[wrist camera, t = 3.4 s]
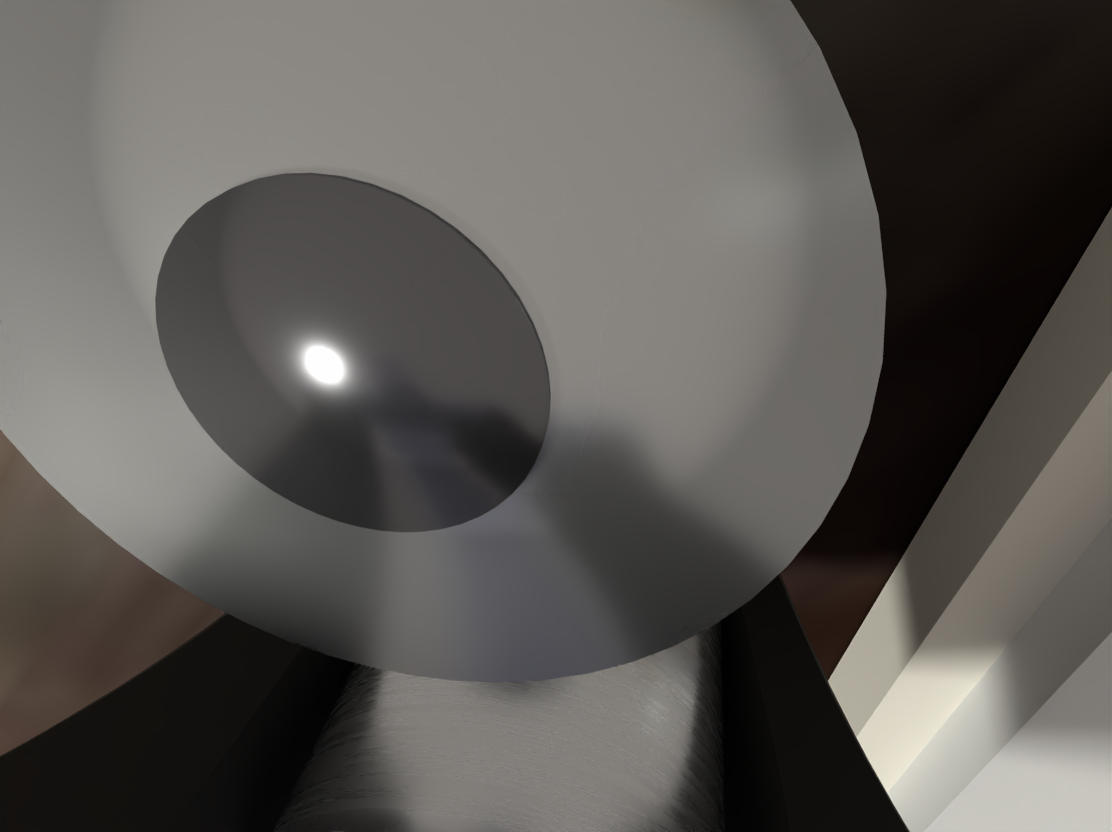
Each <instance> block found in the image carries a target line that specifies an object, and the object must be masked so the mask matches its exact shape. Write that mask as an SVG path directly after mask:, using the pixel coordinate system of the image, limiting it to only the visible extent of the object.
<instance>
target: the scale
mask: <svg viewBox="0 0 1112 832" xmlns="http://www.w3.org/2000/svg"><path fill="white" fill-rule="evenodd" d="M828 683H829V685H830V687H831V689H832V690H833V692H834V694H835V696H836V698H837V700H838V702H839V704H840V706H841V708H842V710H843V712H844V714H845V716H846V718H847V720H848V722H849V724H850V726H851V728H852V730H853V732H854V734H855V736H856V738H857V739H858V741H859V743H860V745H861V747H862V749H863V751H864V753H865V754H866V756H867V758H868V760H869V762H870V764H871V765H872V767H873V769H874V771H875V772H876V774H877V776H878V778H879V780H880V781H881V783H882V785H883V787H884V788H885V790H886V792H887V794H888V795H889V797H890V799H891V801H892V802H893V804H894V806H895V808H896V809H897V811H898V813H899V814H900V816H901V818H902V819H903V821H904V823H905V824H906V826H907V828H908V829H909V831H910V832H1112V208H1111V209H1110V211H1109V213H1108V214H1107V216H1106V218H1105V219H1104V221H1103V223H1102V224H1101V226H1100V228H1099V229H1098V231H1097V233H1096V234H1095V236H1094V238H1093V239H1092V241H1091V243H1090V244H1089V246H1088V248H1087V249H1086V251H1085V253H1084V254H1083V256H1082V258H1081V259H1080V261H1079V263H1078V264H1077V266H1076V268H1075V269H1074V271H1073V273H1072V274H1071V276H1070V278H1069V279H1068V281H1067V283H1066V284H1065V286H1064V288H1063V289H1062V291H1061V293H1060V294H1059V296H1058V298H1057V299H1056V301H1055V303H1054V304H1053V306H1052V308H1051V309H1050V311H1049V313H1048V314H1047V316H1046V318H1045V319H1044V321H1043V323H1042V324H1041V326H1040V328H1039V329H1038V331H1037V333H1036V334H1035V336H1034V338H1033V340H1032V341H1031V343H1030V345H1029V346H1028V348H1027V350H1026V351H1025V353H1024V355H1023V356H1022V358H1021V360H1020V361H1019V363H1018V365H1017V366H1016V368H1015V370H1014V371H1013V373H1012V375H1011V376H1010V378H1009V380H1008V381H1007V383H1006V385H1005V386H1004V388H1003V390H1002V391H1001V393H1000V395H999V396H998V398H997V400H996V401H995V403H994V405H993V406H992V408H991V410H990V411H989V413H988V415H987V416H986V418H985V420H984V421H983V423H982V425H981V426H980V428H979V430H978V431H977V433H976V435H975V436H974V438H973V440H972V441H971V443H970V445H969V446H968V448H967V450H966V451H965V453H964V455H963V456H962V458H961V460H960V461H959V463H958V465H957V466H956V468H955V470H954V471H953V473H952V475H951V476H950V478H949V480H948V481H947V483H946V485H945V486H944V488H943V490H942V491H941V493H940V495H939V496H938V498H937V500H936V502H935V503H934V505H933V507H932V508H931V510H930V512H929V513H928V515H927V517H926V518H925V520H924V522H923V523H922V525H921V527H920V528H919V530H918V532H917V533H916V535H915V537H914V538H913V540H912V542H911V543H910V545H909V547H908V548H907V550H906V552H905V553H904V555H903V557H902V558H901V560H900V562H899V563H898V565H897V567H896V568H895V570H894V572H893V573H892V575H891V577H890V578H889V580H888V582H887V583H886V585H885V587H884V588H883V590H882V592H881V593H880V595H879V597H878V598H877V600H876V602H875V603H874V605H873V607H872V608H871V610H870V612H869V613H868V615H867V617H866V618H865V620H864V622H863V623H862V625H861V627H860V628H859V630H858V632H857V633H856V635H855V637H854V638H853V640H852V642H851V643H850V645H849V647H848V648H847V650H846V652H845V653H844V655H843V657H842V658H841V660H840V662H839V664H838V665H837V667H836V669H835V670H834V672H833V674H832V675H831V677H830V679H829V680H828Z"/></svg>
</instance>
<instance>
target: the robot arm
mask: <svg viewBox="0 0 1112 832" xmlns="http://www.w3.org/2000/svg"><path fill="white" fill-rule="evenodd" d="M721 642H722V703H723V763H724V824H725V832H910V831H909V829H908V828H907V826H906V824H905V823H904V821H903V819H902V818H901V816H900V814H899V813H898V811H897V809H896V808H895V806H894V804H893V802H892V801H891V799H890V797H889V795H888V794H887V792H886V790H885V788H884V787H883V785H882V783H881V781H880V780H879V778H878V776H877V774H876V772H875V771H874V769H873V767H872V765H871V764H870V762H869V760H868V758H867V756H866V754H865V753H864V751H863V749H862V747H861V745H860V743H859V741H858V739H857V738H856V736H855V734H854V732H853V730H852V728H851V726H850V724H849V722H848V720H847V718H846V716H845V714H844V712H843V710H842V708H841V706H840V704H839V702H838V700H837V698H836V696H835V694H834V692H833V690H832V689H831V687H830V685H829V683H828V680H827V678H826V676H825V674H824V672H823V670H822V668H821V666H820V664H819V662H818V659H817V657H816V655H815V653H814V651H813V648H812V646H811V644H810V642H809V640H808V638H807V635H806V633H805V631H804V629H803V626H802V624H801V622H800V619H799V617H798V615H797V613H796V610H795V608H794V606H793V603H792V601H791V598H790V596H789V594H788V591H787V589H786V586H785V584H784V581H783V579H782V577H781V575H780V573H779V574H778V575H777V576H776V577H775V578H774V579H773V580H772V581H771V582H770V583H769V584H768V585H766V586H765V587H764V588H763V589H762V590H761V591H760V592H759V593H758V594H757V595H756V596H755V597H753V598H752V599H751V600H750V601H748V602H747V603H745V604H744V605H742V606H741V607H739V608H738V609H737V610H735V611H734V612H732V613H731V614H729V615H728V616H727V617H725V618H724V619H722V620H721ZM354 664H355V663H354V662H351V661H347V660H343V659H340V658H336V657H333V656H329V655H326V654H323V653H320V652H318V651H315V650H312V649H309V648H306V647H304V646H301V645H298V644H295V643H292V642H290V641H287V640H284V639H282V638H280V637H277V636H275V635H273V634H271V633H268V632H266V631H264V630H262V629H259V628H257V627H255V626H252V625H250V624H248V623H246V622H243V621H241V620H239V619H238V618H236V617H234V616H232V615H230V614H228V613H225V614H224V615H223V616H221V617H220V618H219V619H217V620H216V621H215V622H213V623H212V624H211V625H209V626H208V627H207V628H205V629H204V630H203V631H201V632H200V633H198V634H197V635H196V636H194V637H193V638H191V639H190V640H188V641H187V642H186V643H184V644H183V645H181V646H180V647H178V648H177V649H176V650H174V651H173V652H171V653H170V654H168V655H167V656H165V657H164V658H162V659H161V660H159V661H158V662H156V663H155V664H153V665H152V666H150V667H149V668H147V669H146V670H144V671H142V672H141V673H139V674H138V675H136V676H135V677H133V678H132V679H130V680H129V681H127V682H126V683H124V684H122V685H121V686H119V687H118V688H116V689H114V690H113V691H111V692H110V693H108V694H106V695H105V696H103V697H101V698H100V699H98V700H96V701H95V702H93V703H91V704H90V705H88V706H86V707H85V708H83V709H81V710H80V711H78V712H76V713H75V714H73V715H71V716H70V717H68V718H66V719H65V720H63V721H61V722H60V723H58V724H56V725H55V726H53V727H51V728H50V729H48V730H46V731H44V732H43V733H41V734H39V735H37V736H36V737H34V738H32V739H30V740H28V741H27V742H25V743H23V744H21V745H20V746H18V747H16V748H14V749H12V750H11V751H9V752H7V753H5V754H3V755H1V756H0V832H273V831H274V829H275V827H276V825H277V823H278V821H279V819H280V816H281V814H282V812H283V810H284V808H285V806H286V804H287V802H288V800H289V798H290V796H291V794H292V792H293V790H294V788H295V786H296V783H297V781H298V779H299V777H300V775H301V773H302V771H303V769H304V767H305V765H306V763H307V761H308V759H309V757H310V755H311V753H312V750H313V748H314V746H315V744H316V742H317V740H318V738H319V736H320V734H321V732H322V730H323V728H324V726H325V724H326V722H327V720H328V717H329V715H330V713H331V711H332V709H333V707H334V705H335V703H336V701H337V699H338V697H339V695H340V693H341V691H342V689H343V687H344V684H345V682H346V680H347V678H348V676H349V674H350V672H351V670H352V668H353V666H354Z"/></svg>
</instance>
